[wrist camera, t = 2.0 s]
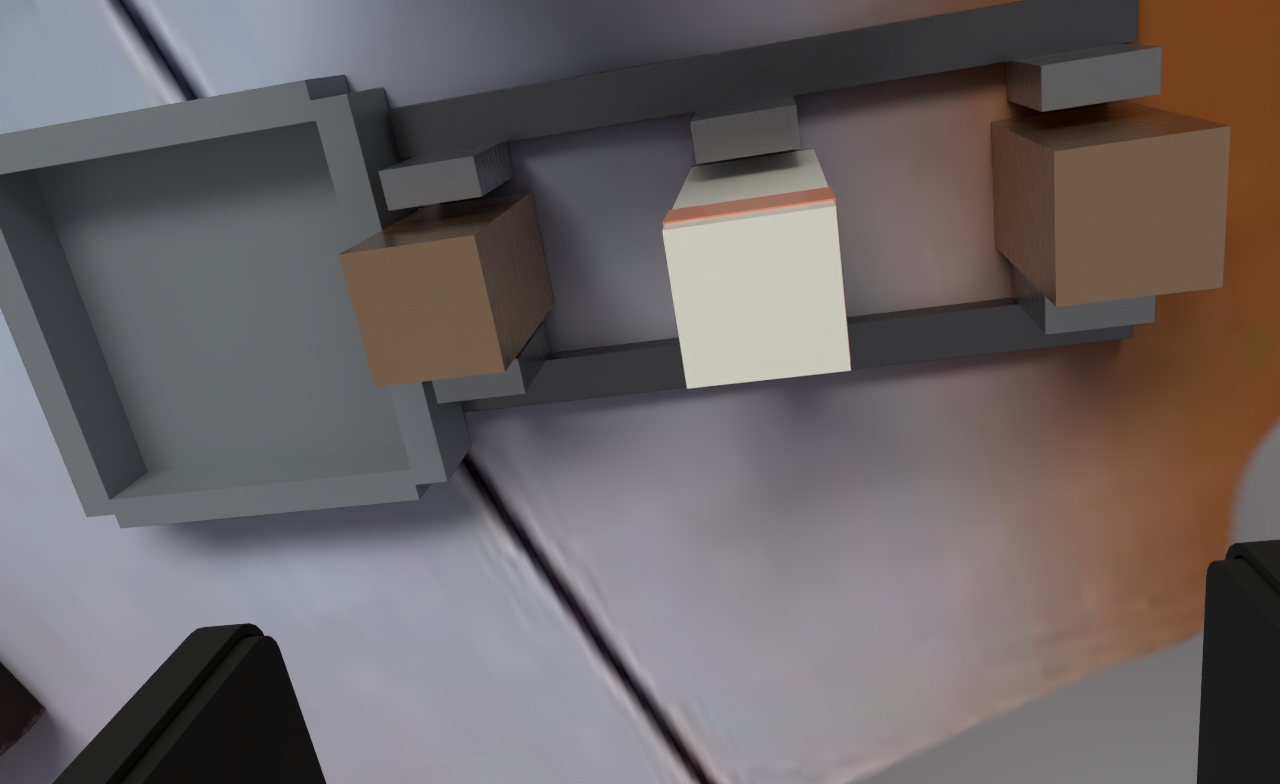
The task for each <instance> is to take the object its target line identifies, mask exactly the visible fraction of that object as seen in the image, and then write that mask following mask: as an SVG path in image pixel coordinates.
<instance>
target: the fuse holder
mask: <svg viewBox="0 0 1280 784" xmlns="http://www.w3.org/2000/svg"><path fill="white" fill-rule="evenodd" d="M1137 37H1138V0H1025V1H1019V2H1013V3H1007V4H1001V5H995V6H989V7H984V8H978V9H972V10H966V11H960V12H954V13H948V14H942V15H937V16H931V17H925V18H919V19H913V20H907V21H901V22H896V23H890V24H884V25H878V26H872V27H866V28H860V29H855V30H849V31H843V32H837V33H831V34H825V35H819V36H813V37H808V38H802V39H796V40H790V41H784V42H778V43H772V44H767V45H761V46H755V47H749V48H743V49H737V50H731V51H726V52H720V53H714V54H708V55H702V56H696V57H690V58H684V59H679V60H673V61H667V62H661V63H655V64H649V65H643V66H638V67H632V68H626V69H620V70H614V71H608V72H602V73H597V74H591V75H585V76H579V77H573V78H567V79H561V80H555V81H550V82H544V83H538V84H532V85H526V86H520V87H514V88H509V89H503V90H497V91H491V92H485V93H479V94H473V95H468V96H462V97H456V98H450V99H444V100H438V101H432V102H426V103H421V104H415V105H409V106H403V107H397V108H393V109H389V110H388V112H389V116H390V120H391V124H392V128H393V132H394V136H395V140H396V144H397V148H398V152H399V156H400V159H404V158H410V157H412V158H410V159H408V160H405V161H403V162H400V163H398V164H395V165H393V166H390V167H388V168H385V169H383V170H380V171H378V172H379V176H380V180H381V184H382V187H383V191H384V195H385V199H386V203H387V207H388V211H390V210H396V209H403V208H409V207H416V206H423V205H429V204H436V203H442V202H449V201H456V200H462V199H469V198H476V197H482V196H483V195H485V194H487V193H488V192H490V191H491V190H493V189H494V188H496V187H498V186H499V185H501V184H502V183H504V182H505V181H507V180H508V179H510V178H512V177H513V176H514V174H513V169H512V164H511V159H510V154H509V149H508V145H507V142H509V141H516V140H522V139H528V138H534V137H541V136H547V135H553V134H559V133H565V132H572V131H578V130H584V129H590V128H597V127H603V126H609V125H615V124H621V123H628V122H634V121H640V120H646V119H653V118H659V117H665V116H671V115H677V114H684V113H690V112H696V111H697V112H696V114H695V115H694V117H693V118H692V120H691V121H690V125H691V132H692V139H693V146H694V153H695V160H696V164H700V163H707V162H714V161H720V160H727V159H734V158H740V157H747V156H753V155H760V154H767V153H773V152H780V151H786V150H793V149H800V148H801V145H800V136H799V126H798V116H797V106H796V103H795V100H794V97H793V96H796V95H802V94H808V93H814V92H821V91H827V90H833V89H839V88H846V87H852V86H858V85H864V84H870V83H877V82H883V81H889V80H895V79H902V78H908V77H914V76H920V75H926V74H933V73H939V72H945V71H951V70H958V69H964V68H970V67H976V66H982V65H989V64H995V63H1001V62H1006V82H1007V100H1009V101H1011V102H1014V103H1017V104H1020V105H1023V106H1026V107H1029V108H1032V109H1035V110H1038V111H1041V112H1044V111H1051V110H1058V109H1064V108H1071V107H1078V106H1084V105H1091V104H1097V103H1104V102H1111V101H1117V100H1124V99H1130V98H1137V97H1144V96H1150V95H1157V94H1160V87H1161V47H1159V46H1146V45H1132V44H1119V43H1126V42H1132V41H1137ZM1230 131H1231V126H1229V125H1224V124H1220V123H1216V122H1212V121H1207V120H1203V119H1199V118H1194V117H1190V116H1186V115H1181V114H1177V113H1173V112H1169V111H1164V110H1160V109H1156V108H1151V107H1147V106H1143V105H1139V104H1134V103H1130V102H1122V103H1115V104H1109V105H1102V106H1096V107H1089V108H1082V109H1076V110H1069V111H1062V112H1056V113H1049V114H1042V115H1036V116H1029V117H1023V118H1016V119H1009V120H1003V121H996V122H991V139H992V167H993V196H994V225H995V247H996V248H997V249H998V250H999V251H1000V252H1001V253H1002V254H1003V255H1004V256H1005V257H1006V258H1007V259H1008V260H1009V261H1010V262H1011V263H1012V290H1013V298H1005V299H997V300H989V301H980V302H972V303H964V304H955V305H947V306H939V307H930V308H922V309H914V310H905V311H897V312H889V313H880V314H872V315H864V316H856V317H847V327H848V338H849V349H850V360H851V363H850V366H851V369H857V368H866V367H875V366H884V365H893V364H902V363H911V362H920V361H929V360H938V359H947V358H956V357H965V356H974V355H983V354H992V353H1001V352H1010V351H1019V350H1028V349H1037V348H1046V347H1055V346H1064V345H1073V344H1082V343H1091V342H1100V341H1109V340H1118V339H1127V338H1132V337H1133V325H1135V324H1143V323H1152V322H1155V295H1162V294H1171V293H1179V292H1188V291H1196V290H1205V289H1213V288H1222V287H1223V270H1224V250H1225V230H1226V210H1227V190H1228V171H1229V151H1230ZM338 256H339V260H340V263H341V267H342V270H343V274H344V277H345V281H346V285H347V288H348V292H349V295H350V299H351V303H352V306H353V310H354V313H355V317H356V321H357V324H358V328H359V331H360V335H361V338H362V342H363V346H364V349H365V353H366V356H367V360H368V364H369V367H370V371H371V374H372V378H373V382H374V385H375V387H382V386H390V385H399V384H407V383H415V382H424V381H432V383H433V387H434V391H435V395H436V399H437V402H438V403H446V402H455V401H460V403H461V407H462V411H463V412H470V411H479V410H488V409H497V408H506V407H515V406H524V405H533V404H542V403H551V402H560V401H569V400H578V399H587V398H596V397H605V396H614V395H623V394H632V393H641V392H650V391H659V390H668V389H677V388H686V387H687V385H686V379H685V372H684V366H683V360H682V353H681V347H680V341H679V338H673V339H664V340H656V341H648V342H639V343H631V344H623V345H614V346H606V347H598V348H590V349H581V350H573V351H565V352H556V353H551V352H550V347H549V342H548V337H547V333H546V328H545V323H544V322H542V320H543V319H544V318H545V316H546V315H547V313H548V312H549V311H550V309H551V308H552V307H553V305H554V299H553V294H552V289H551V284H550V279H549V274H548V269H547V265H546V260H545V255H544V250H543V245H542V240H541V235H540V230H539V225H538V220H537V215H536V210H535V205H534V200H533V195H532V192H525V193H518V194H512V195H505V196H498V197H492V198H485V199H478V200H472V201H465V202H459V203H452V204H445V205H439V206H432V207H425V208H421V209H419V210H417V211H415V212H413V213H412V214H410V215H408V216H406V217H404V218H403V219H401V220H399V221H397V222H396V223H394V224H392V225H390V226H388V227H387V228H385V229H383V230H381V231H379V232H378V233H376V234H374V235H372V236H371V237H369V238H367V239H365V240H363V241H362V242H360V243H358V244H356V245H354V246H353V247H351V248H349V249H347V250H346V251H344V252H342V253H340V254H338Z"/></svg>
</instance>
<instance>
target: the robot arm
mask: <svg viewBox="0 0 1280 784" xmlns="http://www.w3.org/2000/svg"><path fill="white" fill-rule="evenodd" d="M1203 641H1204V642H1203V661H1202V662H1203V663H1202V683H1201V684H1202V685H1201V705H1200V726H1199V748H1198V770H1197V784H1280V540H1269V541H1258V542H1245V543H1235V544H1233V545H1232V546H1230V547H1229V550H1228V552H1227V554H1226V558H1225V560H1220V561H1213V562H1212V563H1210V565H1209V567H1208V569H1207V577H1206V596H1205V618H1204V640H1203ZM52 784H326V781H325V778H324V776H323V773H322V770H321V767H320V764H319V761H318V758H317V755H316V752H315V750H314V747H313V744H312V741H311V738H310V735H309V732H308V729H307V726H306V724H305V721H304V718H303V715H302V712H301V709H300V706H299V703H298V701H297V698H296V695H295V692H294V689H293V686H292V683H291V680H290V677H289V675H288V672H287V669H286V666H285V663H284V660H283V657H282V654H281V651H280V649H279V646H278V644H277V642H276V641H275V640H274V639H273V638H272V637H270V636H264V634H263V632H262V631H261V630H260V629H259V628H258V627H257V626H256V625H253V624H250V623H248V624H236V625H224V626H211V627H203V628H198V629H196V630H195V631H194V632H192V633H191V634H190V635H189V636H188V637H187V638H186V639H185V640H184V641H183V643H182V644H181V645H180V646H179V647H178V648H177V649H176V650H175V651H174V652H173V653H172V654H171V656H170V657H169V658H168V659H167V660H166V661H165V662H164V663H163V664H162V665H161V666H160V667H159V669H158V670H157V671H156V672H155V673H154V674H153V675H152V676H151V677H150V678H149V679H148V680H147V682H146V683H145V684H144V685H143V686H142V687H141V688H140V689H139V690H138V691H137V692H136V693H135V695H134V696H133V697H132V698H131V699H130V700H129V701H128V702H127V703H126V704H125V705H124V706H123V708H122V709H121V710H120V711H119V712H118V713H117V714H116V715H115V716H114V717H113V718H112V719H111V721H110V722H109V723H108V724H107V725H106V726H105V727H104V728H103V729H102V730H101V731H100V732H99V734H98V735H97V736H96V737H95V738H94V739H93V740H92V741H91V742H90V743H89V744H88V745H87V747H86V748H85V749H84V750H83V751H82V752H81V753H80V754H79V755H78V756H77V757H76V758H75V760H74V761H73V762H72V763H71V764H70V765H69V766H68V767H67V768H66V769H65V770H64V771H63V773H62V774H61V775H60V776H59V777H58V778H57V779H56V780H55V781H54V782H53V783H52Z"/></svg>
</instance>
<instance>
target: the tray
mask: <svg viewBox="0 0 1280 784" xmlns="http://www.w3.org/2000/svg"><path fill="white" fill-rule="evenodd" d="M400 162H401V159H400V156H399V152H398V148H397V144H396V140H395V136H394V132H393V128H392V124H391V120H390V116H389V112H388V106H387V102H386V97H385V93H384V89H383V88H377V89H371V90H365V91H360V92H354V93H349V89H348V85H347V81H346V77H345V75H339V76H332V77H324V78H317V79H310V80H303V81H298V82H292V83H286V84H281V85H275V86H270V87H264V88H258V89H253V90H247V91H242V92H236V93H230V94H225V95H219V96H214V97H208V98H202V99H197V100H191V101H186V102H180V103H175V104H169V105H163V106H158V107H152V108H147V109H141V110H135V111H130V112H124V113H119V114H113V115H107V116H102V117H96V118H91V119H85V120H80V121H74V122H68V123H63V124H57V125H52V126H46V127H40V128H35V129H29V130H24V131H18V132H12V133H7V134H1V135H0V308H1V310H2V313H3V315H4V317H5V320H6V322H7V325H8V327H9V330H10V332H11V334H12V337H13V339H14V342H15V344H16V347H17V349H18V351H19V354H20V356H21V359H22V361H23V363H24V366H25V368H26V371H27V373H28V376H29V378H30V380H31V383H32V385H33V388H34V390H35V393H36V395H37V397H38V400H39V402H40V405H41V407H42V410H43V412H44V414H45V417H46V419H47V422H48V424H49V427H50V429H51V431H52V434H53V436H54V439H55V441H56V444H57V446H58V448H59V451H60V453H61V456H62V458H63V461H64V463H65V465H66V468H67V470H68V473H69V475H70V478H71V480H72V482H73V485H74V487H75V490H76V492H77V495H78V497H79V499H80V502H81V504H82V507H83V509H84V512H85V514H86V516H87V517H93V516H103V515H113V514H115V516H116V518H117V521H118V523H119V526H120V528H129V527H140V526H150V525H161V524H171V523H181V522H192V521H202V520H213V519H223V518H234V517H244V516H255V515H265V514H276V513H286V512H297V511H307V510H318V509H328V508H339V507H349V506H359V505H370V504H380V503H391V502H401V501H412V500H420V498H421V497H422V495H423V494H424V493H425V491H426V490H427V488H428V487H429V486H430V484H431V483H438V482H447V481H448V480H449V478H450V477H451V476H452V474H453V473H454V471H455V470H456V468H457V467H458V465H459V464H460V462H461V461H462V459H463V458H464V456H465V455H466V453H467V452H468V450H469V449H470V448H471V442H470V438H469V434H468V430H467V426H466V422H465V418H464V414H463V411H462V407H461V403H460V401H455V402H446V403H438V402H437V399H436V395H435V391H434V387H433V383H432V381H424V382H415V383H407V384H399V385H390V386H382V387H375V385H374V382H373V378H372V374H371V371H370V367H369V364H368V360H367V356H366V353H365V349H364V346H363V342H362V338H361V335H360V331H359V328H358V324H357V321H356V317H355V313H354V310H353V306H352V303H351V299H350V295H349V292H348V288H347V285H346V281H345V277H344V274H343V270H342V267H341V263H340V260H339V256H338V254H340V253H342V252H344V251H346V250H347V249H349V248H351V247H353V246H354V245H356V244H358V243H360V242H362V241H363V240H365V239H367V238H369V237H371V236H372V235H374V234H376V233H378V232H379V231H381V230H383V229H385V228H387V227H388V226H390V225H392V224H394V223H396V222H397V221H399V220H401V219H403V218H404V217H406V216H408V215H410V214H412V213H413V212H414V211H413V207H409V208H403V209H396V210H390V211H388V207H387V203H386V199H385V195H384V191H383V187H382V184H381V180H380V176H379V172H378V171H380V170H383V169H385V168H388V167H390V166H393V165H395V164H398V163H400Z"/></svg>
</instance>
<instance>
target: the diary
mask: <svg viewBox="0 0 1280 784" xmlns="http://www.w3.org/2000/svg"><path fill="white" fill-rule="evenodd" d="M44 712H45V708H44V707H43V706H42V705H41V704H40V703H39V702H38V700H37V699H36V698H35V697H34V696H33V695H32V694H31V693H30V692H29V691H28V690H27V689H26V688H25V687H24V686H23V685H22V684H21V683H20V682H19V681H18V680H17V679H16V678H15V677H14V676H13V675H12V674H11V673H10V672H9V671H8V670H7V669H6V668H5V667H4V666H3V665H2V664H1V662H0V756H1V755H2V754H3V753H4V752H5V751H6V750H8V749H9V748H10V747H11V746H12V745H14V744H15V743H16V742H17V741H18V740H19V739H20V738H21V737H22V736H23V735H24V734H25V733H26V732H27V731H28V730H29V729H30V728H31V727H32V726H33V725H34V724H35V723H36V722H37V721H38V719H39V718H40V717H41V715H42V714H43V713H44Z"/></svg>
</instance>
